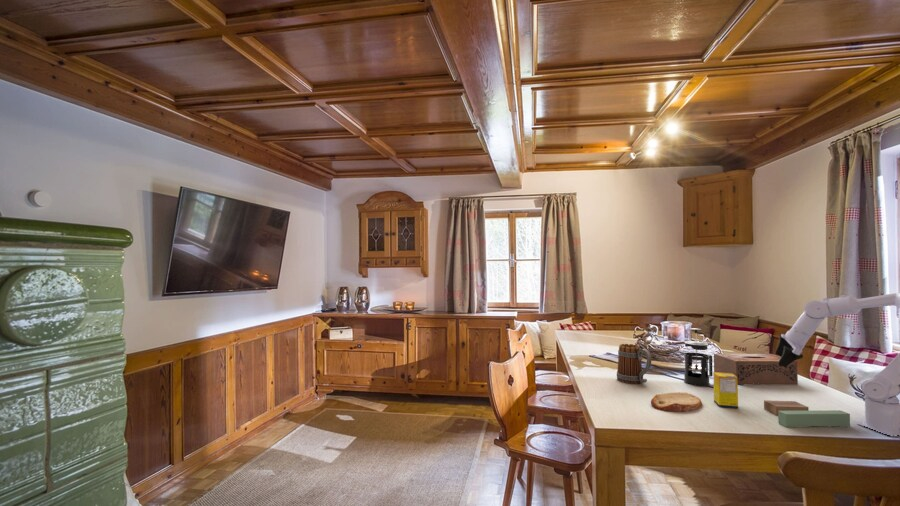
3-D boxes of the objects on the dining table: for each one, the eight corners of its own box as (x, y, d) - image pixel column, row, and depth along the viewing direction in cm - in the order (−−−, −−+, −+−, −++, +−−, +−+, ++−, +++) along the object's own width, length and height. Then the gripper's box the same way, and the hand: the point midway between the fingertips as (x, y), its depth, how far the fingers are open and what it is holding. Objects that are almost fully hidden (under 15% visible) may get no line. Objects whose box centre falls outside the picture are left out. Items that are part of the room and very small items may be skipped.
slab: (808, 417, 135) (808, 407, 135) (776, 416, 136) (776, 406, 136) (795, 411, 141) (794, 401, 141) (764, 410, 142) (763, 400, 142)
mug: (611, 378, 180) (610, 344, 180) (628, 376, 184) (628, 342, 185) (641, 388, 166) (640, 351, 166) (659, 385, 170) (659, 349, 171)
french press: (691, 386, 169) (690, 330, 169) (677, 380, 178) (677, 326, 179) (719, 386, 169) (718, 330, 170) (704, 379, 179) (703, 326, 179)
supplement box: (732, 403, 148) (731, 372, 149) (738, 408, 143) (738, 377, 143) (713, 401, 150) (712, 371, 150) (718, 407, 144) (718, 375, 145)
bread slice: (696, 399, 154) (696, 389, 154) (713, 416, 136) (713, 405, 136) (644, 395, 158) (644, 385, 159) (653, 411, 141) (653, 400, 141)
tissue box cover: (770, 376, 186) (770, 353, 187) (797, 385, 172) (797, 361, 172) (714, 375, 186) (713, 353, 187) (736, 385, 172) (735, 361, 172)
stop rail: (850, 426, 127) (849, 413, 127) (786, 427, 127) (786, 414, 127) (840, 423, 130) (840, 410, 130) (778, 423, 130) (778, 410, 130)
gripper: (785, 316, 151) (764, 345, 156) (793, 333, 139) (770, 364, 144) (808, 325, 148) (785, 354, 154) (817, 344, 136) (793, 374, 142)
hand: (779, 360), depth 149 cm, fingers open, 7 cm apart
